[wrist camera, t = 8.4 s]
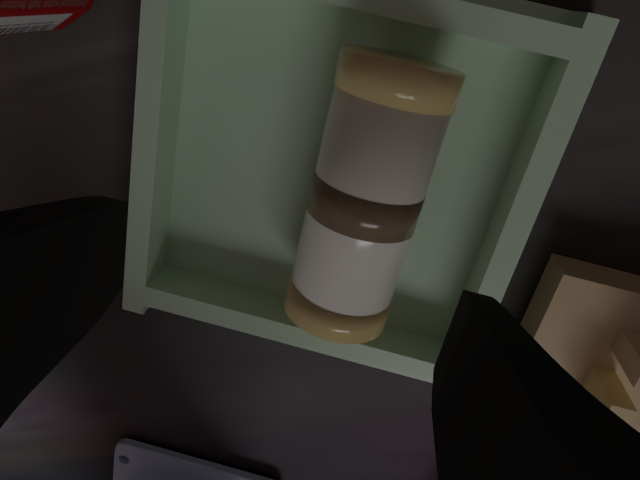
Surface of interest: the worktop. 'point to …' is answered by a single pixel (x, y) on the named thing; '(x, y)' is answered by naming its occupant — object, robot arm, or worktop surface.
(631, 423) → the fuse holder
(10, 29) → the soda can
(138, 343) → the worktop surface
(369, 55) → the fuse
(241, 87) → the parts tray
